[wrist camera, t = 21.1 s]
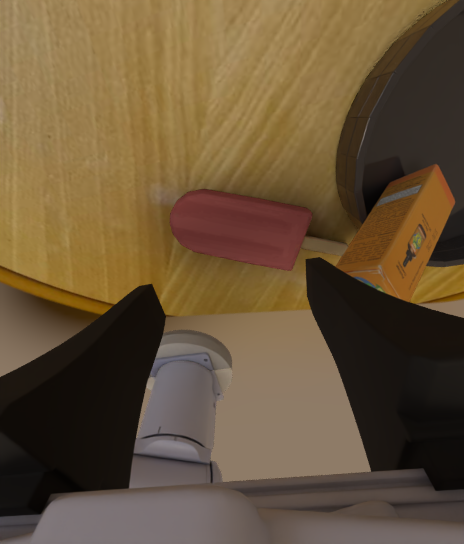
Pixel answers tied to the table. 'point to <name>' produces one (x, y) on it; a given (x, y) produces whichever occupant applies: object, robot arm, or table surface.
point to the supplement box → (400, 233)
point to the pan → (410, 124)
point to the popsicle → (246, 229)
